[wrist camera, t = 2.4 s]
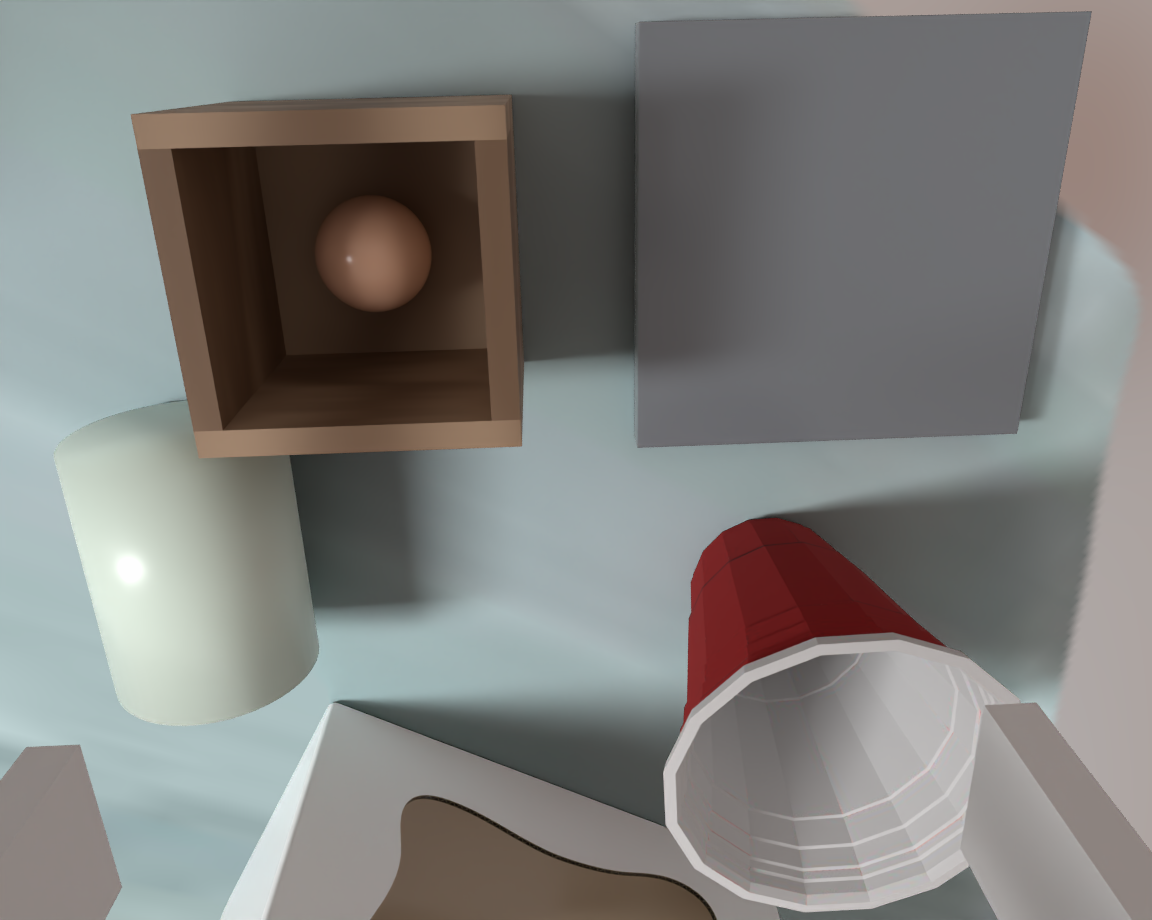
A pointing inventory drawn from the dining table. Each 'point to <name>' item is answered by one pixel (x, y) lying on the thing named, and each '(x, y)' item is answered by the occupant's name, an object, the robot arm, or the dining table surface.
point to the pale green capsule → (189, 567)
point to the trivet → (844, 222)
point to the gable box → (458, 842)
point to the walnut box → (299, 296)
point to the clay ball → (373, 253)
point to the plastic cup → (818, 730)
